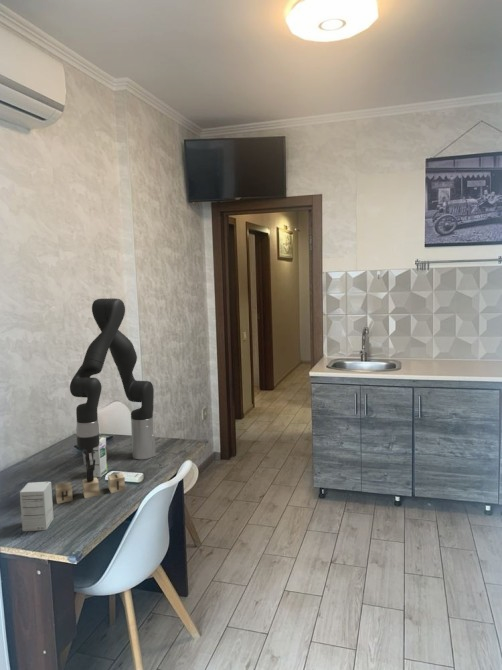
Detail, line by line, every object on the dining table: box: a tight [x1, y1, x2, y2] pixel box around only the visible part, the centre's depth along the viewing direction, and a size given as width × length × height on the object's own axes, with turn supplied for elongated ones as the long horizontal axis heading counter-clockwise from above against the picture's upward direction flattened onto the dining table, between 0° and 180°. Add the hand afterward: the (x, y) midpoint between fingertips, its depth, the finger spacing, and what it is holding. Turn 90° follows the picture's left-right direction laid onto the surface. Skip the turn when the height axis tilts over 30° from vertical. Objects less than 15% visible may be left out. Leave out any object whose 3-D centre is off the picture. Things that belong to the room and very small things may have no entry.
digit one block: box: [107, 472, 126, 494], centre depth 177 cm, size 5×5×5 cm
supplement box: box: [19, 481, 54, 532], centre depth 151 cm, size 7×7×13 cm
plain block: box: [81, 477, 100, 499], centre depth 174 cm, size 5×5×5 cm
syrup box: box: [93, 436, 109, 478], centre depth 191 cm, size 6×6×14 cm
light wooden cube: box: [55, 481, 74, 505], centre depth 170 cm, size 5×5×5 cm
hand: (90, 480), depth 173 cm, fingers closed
